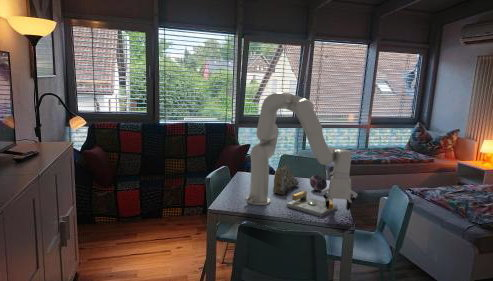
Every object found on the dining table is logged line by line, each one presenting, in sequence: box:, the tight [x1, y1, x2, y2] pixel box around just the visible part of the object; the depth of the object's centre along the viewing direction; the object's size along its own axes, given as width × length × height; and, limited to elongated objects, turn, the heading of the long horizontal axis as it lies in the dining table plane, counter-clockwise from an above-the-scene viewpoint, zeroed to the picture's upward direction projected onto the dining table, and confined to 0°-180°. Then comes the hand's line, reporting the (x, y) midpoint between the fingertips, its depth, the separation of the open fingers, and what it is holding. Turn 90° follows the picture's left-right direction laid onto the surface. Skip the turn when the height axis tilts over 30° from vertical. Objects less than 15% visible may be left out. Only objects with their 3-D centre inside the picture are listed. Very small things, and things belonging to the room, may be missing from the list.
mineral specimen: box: [309, 173, 328, 191], centre depth 204 cm, size 10×10×10 cm
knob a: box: [291, 190, 308, 201], centre depth 178 cm, size 11×4×4 cm, turn 140°
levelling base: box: [286, 196, 338, 218], centre depth 173 cm, size 17×20×3 cm
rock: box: [272, 164, 299, 196], centre depth 202 cm, size 27×10×15 cm, turn 151°
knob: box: [324, 198, 334, 210], centre depth 168 cm, size 11×4×4 cm, turn 172°
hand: (337, 208), depth 164 cm, fingers open, 9 cm apart
